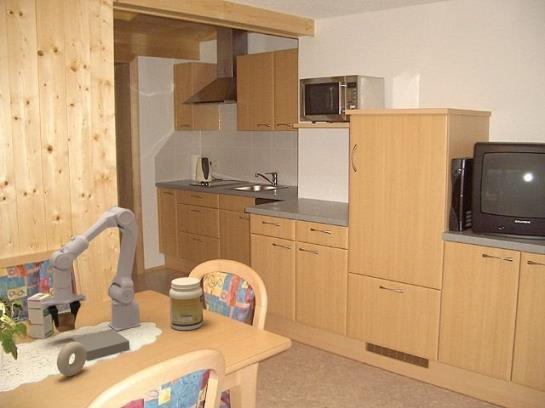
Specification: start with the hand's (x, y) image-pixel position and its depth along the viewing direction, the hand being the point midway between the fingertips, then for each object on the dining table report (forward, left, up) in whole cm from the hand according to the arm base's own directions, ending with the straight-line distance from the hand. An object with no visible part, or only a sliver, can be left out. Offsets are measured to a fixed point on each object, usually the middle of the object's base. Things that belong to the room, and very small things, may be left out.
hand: (65, 324), depth 189 cm
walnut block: (0, 0, -2) cm, 2 cm away
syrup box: (+5, -10, -6) cm, 13 cm away
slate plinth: (-7, +14, -6) cm, 17 cm away
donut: (+7, +28, -6) cm, 29 cm away
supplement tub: (-40, +13, -6) cm, 42 cm away
